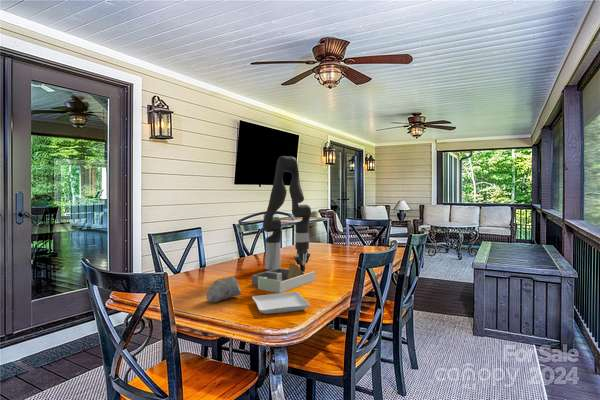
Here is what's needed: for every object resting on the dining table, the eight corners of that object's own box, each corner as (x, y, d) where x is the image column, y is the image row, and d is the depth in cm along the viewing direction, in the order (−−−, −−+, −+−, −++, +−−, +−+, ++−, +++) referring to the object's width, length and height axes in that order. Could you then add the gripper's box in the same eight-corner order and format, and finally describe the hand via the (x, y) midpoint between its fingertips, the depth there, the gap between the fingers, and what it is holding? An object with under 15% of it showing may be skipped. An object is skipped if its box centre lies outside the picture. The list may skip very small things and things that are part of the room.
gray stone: (206, 306, 165) (206, 283, 164) (205, 297, 179) (204, 276, 179) (243, 302, 169) (243, 280, 169) (239, 294, 183) (239, 273, 183)
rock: (308, 275, 213) (290, 272, 215) (307, 264, 207) (290, 261, 209) (303, 290, 205) (285, 287, 207) (303, 280, 199) (285, 277, 201)
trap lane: (245, 286, 198) (245, 275, 198) (282, 275, 223) (282, 265, 223) (279, 293, 184) (279, 280, 184) (315, 280, 209) (315, 269, 209)
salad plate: (259, 318, 149) (259, 309, 149) (251, 303, 170) (251, 295, 170) (311, 312, 155) (310, 304, 155) (297, 298, 175) (297, 291, 175)
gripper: (303, 238, 219) (303, 268, 219) (289, 241, 208) (290, 273, 208) (314, 239, 214) (314, 270, 215) (300, 242, 203) (301, 274, 204)
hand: (302, 271), depth 211 cm, fingers closed
